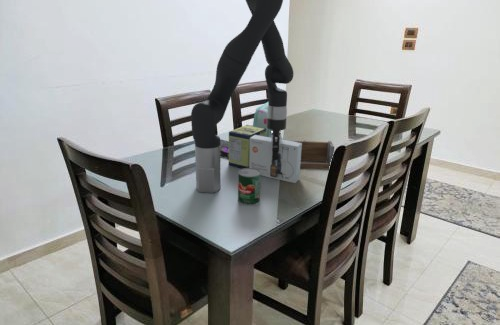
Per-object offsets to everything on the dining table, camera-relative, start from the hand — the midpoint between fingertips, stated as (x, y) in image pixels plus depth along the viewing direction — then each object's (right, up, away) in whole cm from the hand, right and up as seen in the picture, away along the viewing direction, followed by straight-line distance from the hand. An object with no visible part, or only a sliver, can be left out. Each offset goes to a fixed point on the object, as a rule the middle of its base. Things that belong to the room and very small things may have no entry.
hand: (274, 156), depth 145 cm
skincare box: (0, -8, +3) cm, 9 cm away
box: (-24, +3, +33) cm, 41 cm away
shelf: (+13, -3, +19) cm, 23 cm away
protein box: (-11, -3, +18) cm, 21 cm away
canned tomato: (-11, -16, -18) cm, 26 cm away
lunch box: (-1, +9, +48) cm, 49 cm away
